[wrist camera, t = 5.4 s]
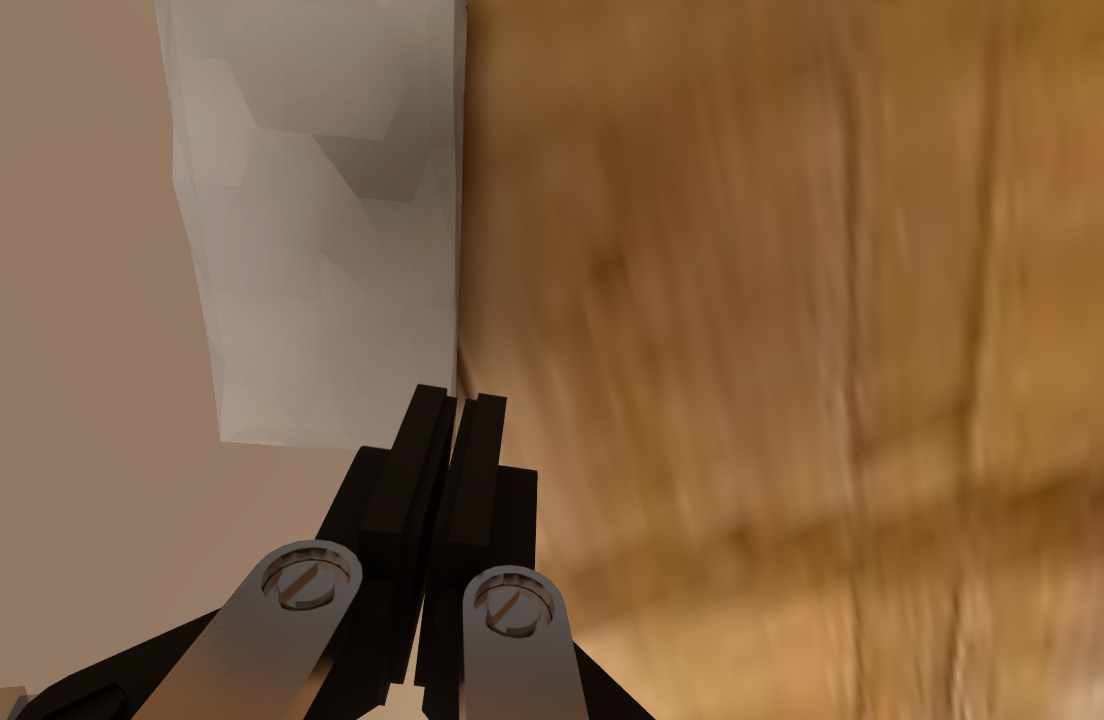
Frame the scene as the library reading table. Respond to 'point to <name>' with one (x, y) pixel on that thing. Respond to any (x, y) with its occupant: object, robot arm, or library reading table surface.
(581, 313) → the library reading table surface
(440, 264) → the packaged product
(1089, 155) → the library reading table surface
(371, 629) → the robot arm
